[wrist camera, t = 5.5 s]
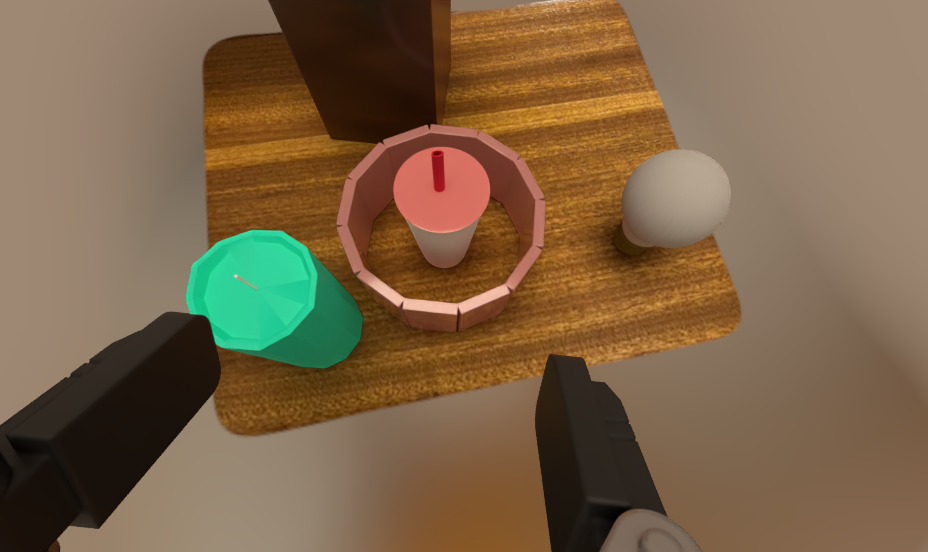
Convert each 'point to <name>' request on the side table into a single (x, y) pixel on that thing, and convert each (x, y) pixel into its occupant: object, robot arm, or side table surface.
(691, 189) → the light bulb
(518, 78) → the side table surface
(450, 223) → the cup
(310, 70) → the stand
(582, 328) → the side table surface
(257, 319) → the candle
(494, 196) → the pink segmented ring
